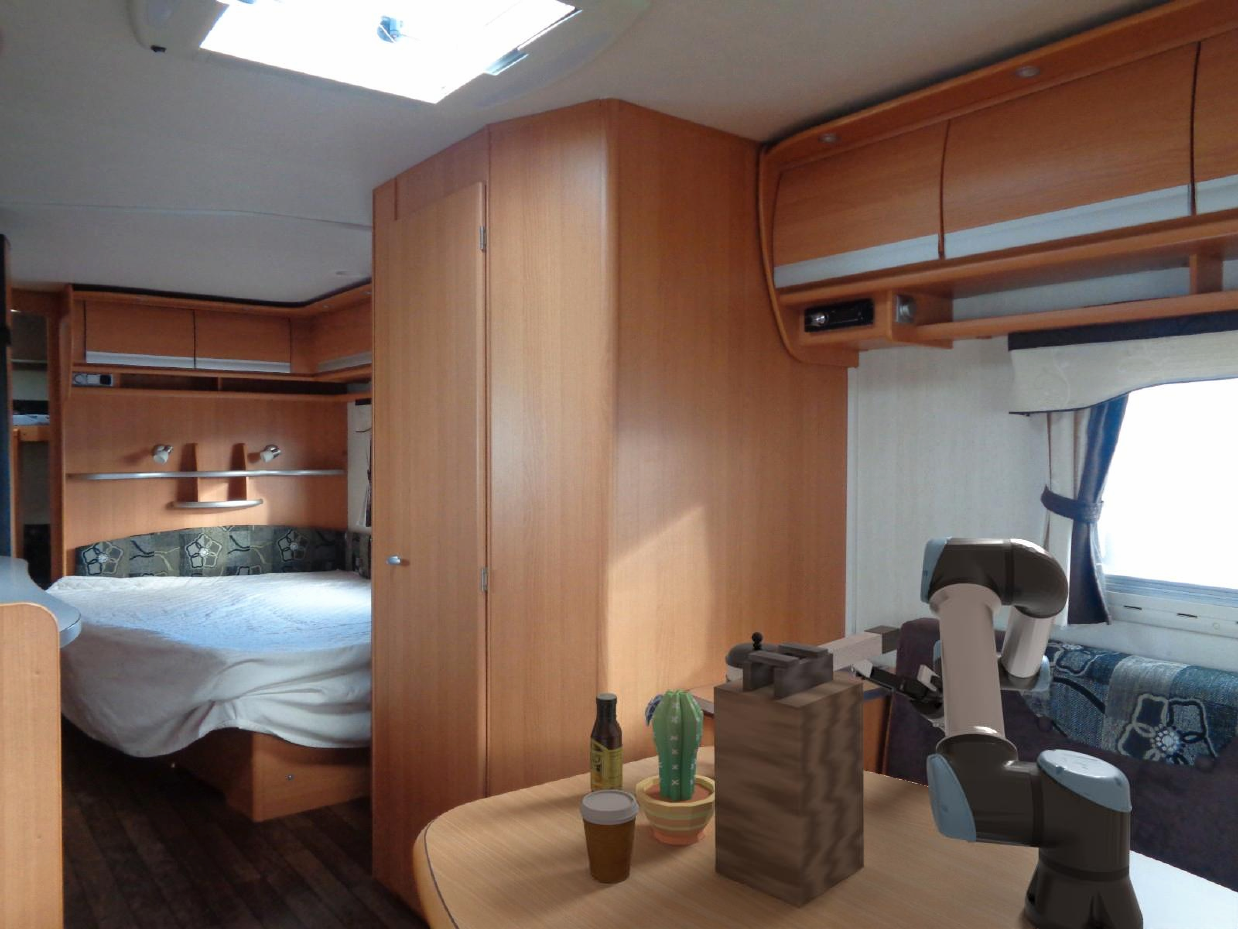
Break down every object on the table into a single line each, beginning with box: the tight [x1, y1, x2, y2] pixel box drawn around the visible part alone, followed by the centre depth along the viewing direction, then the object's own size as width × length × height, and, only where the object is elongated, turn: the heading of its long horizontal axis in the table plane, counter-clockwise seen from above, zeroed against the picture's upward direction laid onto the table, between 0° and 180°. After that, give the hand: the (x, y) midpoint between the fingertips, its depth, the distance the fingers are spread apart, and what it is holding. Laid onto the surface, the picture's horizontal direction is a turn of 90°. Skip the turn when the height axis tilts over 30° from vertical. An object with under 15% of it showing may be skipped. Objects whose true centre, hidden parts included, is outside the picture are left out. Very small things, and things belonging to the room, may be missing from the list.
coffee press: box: [724, 631, 779, 683], centre depth 190 cm, size 17×16×30 cm
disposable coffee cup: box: [579, 790, 640, 884], centre depth 151 cm, size 10×10×12 cm
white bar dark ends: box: [801, 624, 901, 672], centre depth 163 cm, size 26×4×4 cm, turn 135°
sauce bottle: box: [589, 692, 624, 793], centre depth 181 cm, size 6×6×20 cm
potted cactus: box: [635, 688, 715, 846], centre depth 165 cm, size 15×15×25 cm
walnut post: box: [713, 641, 865, 908], centre depth 151 cm, size 18×16×35 cm
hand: (886, 665), depth 172 cm, fingers open, 13 cm apart
